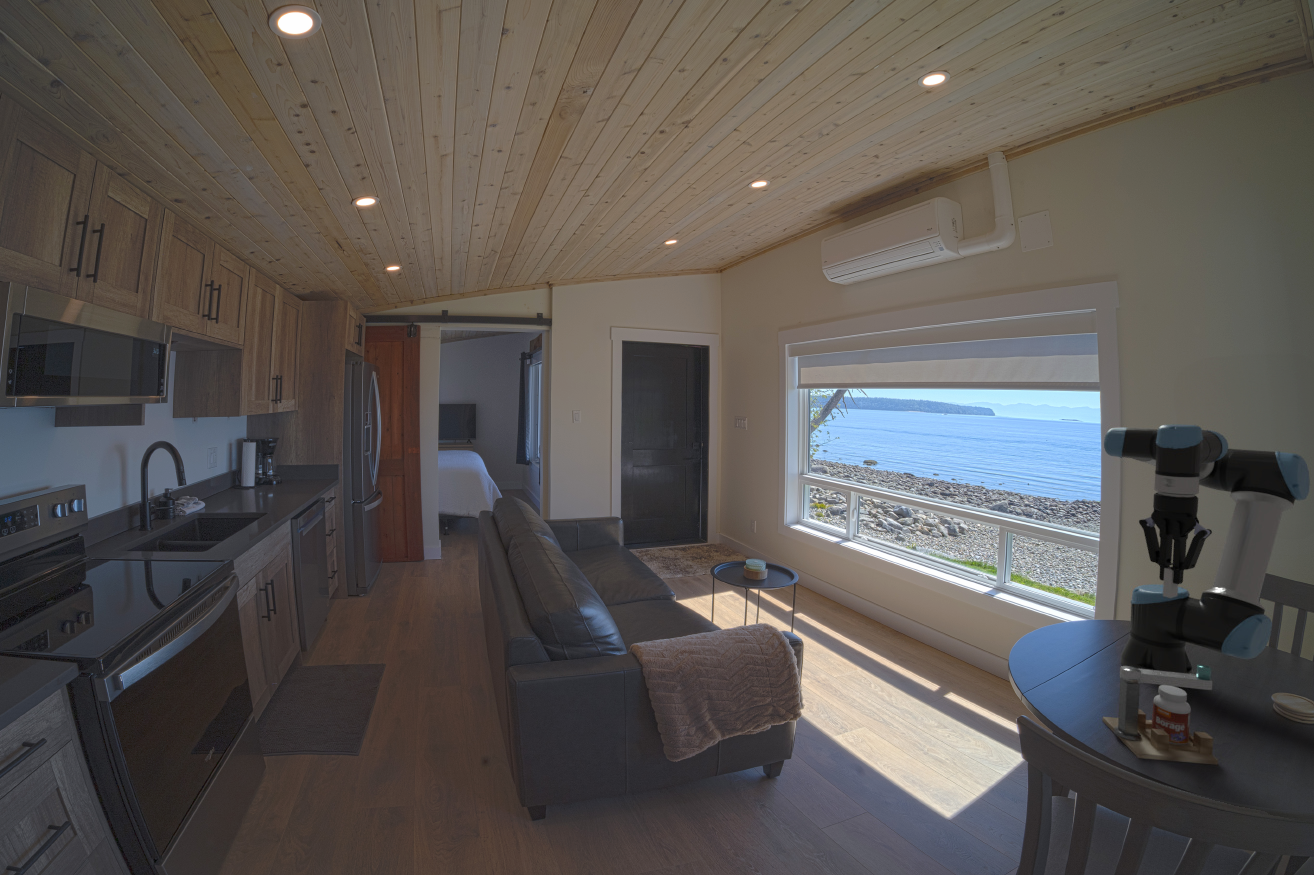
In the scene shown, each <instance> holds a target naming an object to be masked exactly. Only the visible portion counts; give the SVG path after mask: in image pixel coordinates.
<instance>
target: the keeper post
mask: <svg viewBox="0 0 1314 875" xmlns="http://www.w3.org/2000/svg"><path fill="white" fill-rule="evenodd" d="M1140 685H1141V684H1140V683H1129V682H1126V681H1124V680H1122V679H1121V678H1120V677H1119V695H1118V696H1119V699H1118V701H1119V702H1118V716H1117V718H1118V727H1115V728H1114V732H1113V733H1114V735H1116V737H1118V736H1119V737H1121V738H1123V739H1125V740H1129V741H1140V740H1141V735H1140V733H1138V732H1137V730H1138V711H1139V709H1140V708H1139V707H1140V690H1141V688H1140V687H1141V686H1140ZM1119 737H1118V738H1119Z"/></svg>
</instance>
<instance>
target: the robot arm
mask: <svg viewBox="0 0 1314 875" xmlns="http://www.w3.org/2000/svg"><path fill="white" fill-rule="evenodd" d="M1103 448H1104V451H1105V453H1106V454H1107V455H1109V456H1111V457H1117V458H1121V459H1122V458H1127V459H1132V460H1136V461H1139V462H1142V463H1145V464H1148V465H1151V466H1153V467H1155V470H1154V486H1153V487H1154V491H1155V493H1154V494H1153V506H1152V507H1153V511H1152V513H1151V514H1150V517H1147V518H1142V519H1139V520H1138V523H1139V525H1140V527H1141V528H1142V530H1143V534H1144V537H1145V543H1146V547H1147V553H1148V556H1149V560H1150V561H1151V563H1155V564H1157V565H1158V566H1159V577H1158V578H1159V580H1160V581H1163V584H1157V583H1156V584H1150V583H1149V584H1141V585H1137V586H1136V587H1135V588H1133V590H1132V594H1131V600H1130V604H1131V605H1130V623H1129V624H1130V630H1129V636H1128V637H1129V638H1127V639H1128V640H1127V642H1126V644H1125V645H1124V648H1123V649H1122V652H1120V653H1121V654H1120V664H1121V665H1122V666H1130V667H1134V668H1137V669H1147V670H1157V671H1166V672H1176V673H1186V674H1194V670H1193V669H1194V668H1193V666H1192V663H1191V660H1190V657H1189V655H1188V654H1189V653H1188V652H1187V648H1186V644H1187V643H1188V644H1191V645H1193V646H1194V645H1195V646H1197V647H1200V648H1205V649H1208V650H1212V651H1214V652H1217V653H1220V654H1221V653H1222V654H1223V655H1225V656H1231V657H1235V658H1238V659H1244V660H1251V659H1254V658H1256V657H1258V656H1259V655H1260V654H1261V653H1262V652H1263V651H1264V650H1265V648H1266V647H1267V644H1268V642H1269V640H1270V637H1271V634H1272V627H1273V622H1272V620H1271V618H1270V617H1269V616H1268V615H1267V614H1265V613H1266V608H1265V607H1264V606H1263V604H1261V602H1260V596H1261V592H1262V588H1263V585H1264V581H1265V578H1266V573H1267V571H1268V567H1269V564H1270V560H1271V556H1272V551H1273V549H1274V545H1275V541H1276V537H1277V534H1278V531H1279V526H1280V523H1281V518H1282V517H1283V516H1282V515H1283V513H1284V512H1286V511H1288V510H1291V509H1293V507H1294V504H1295V501H1296V500H1297V501H1303V500H1306V499H1307V496H1309V492H1310V486H1311V484H1310V473H1309V466H1308V464H1307V462H1306V460H1305V458H1304V457H1302V456H1301V455H1299V454H1297V453H1293V452H1292V453H1291V452H1281V451H1279V450H1278V451H1277V450H1275V451H1271V450H1270V451H1269V450H1254V449H1235V448H1229V443H1228V440H1227V439H1226V438H1225V436H1224V435H1222V434H1221V433H1219V432H1218V431H1215V430H1208V429H1207V430H1204V429H1202V428H1201V427H1200V426H1199V425H1196V424H1175V423H1173V424H1162V425H1160V426H1159V427H1158V428H1157V429H1155V428H1152V429H1151V428H1141V427H1140V428H1137V427H1127V426H1124V427H1112V428H1110V429H1108V430H1107V432H1106V433H1105V436H1104V441H1103ZM1200 486H1202V487H1205V488H1209V489H1212V490H1215V491H1223V492H1229V493H1230V494H1229V495H1230V498H1231V499H1232V500H1233V501H1234V502H1235V505H1234V506H1235V507H1234V509H1233V513H1232V517H1231V520H1230V524H1229V528H1228V531H1227V535H1226V537H1225V542H1224V545H1223V548H1222V552H1221V556H1220V560H1219V563H1218V566H1217V570H1216V574H1215V576H1214V580H1213V584H1212V587H1211V588H1209V589H1206V590H1203V591H1202V592H1201V596H1200V598H1194V597H1191V596H1190V595H1191V594H1190V592H1189V590H1187V589H1186V588H1184V587H1180V586H1179V585H1182V584H1183V582H1184V571H1188V570H1191V569H1194V568H1196V565H1197V562H1198V560H1199V557H1200V555H1201V552H1202V550H1203V547H1204V544H1205V543H1206V542H1205V541H1206V539H1207V538H1208V537H1210V536H1211V535H1212V534H1213V532H1212V531H1213V530H1212V529H1210V528H1205V527H1204V526H1203V525H1201V524H1200V520H1199V518H1198V516H1197V515H1198V508H1199V497H1197V495H1198V494H1199V493H1200ZM1155 526H1156V527H1157V528H1158V530H1159V531H1158V534H1157V529H1156V527H1155ZM1193 530H1194V531H1193ZM1191 532H1193V535H1194V536H1193V538H1192V540H1191V542H1190V545H1189V547H1188V550H1187V540H1188V538H1189V534H1190V533H1191ZM1158 535H1159V536H1158ZM1158 537H1159V538H1158ZM1159 540H1160V542H1159Z"/></svg>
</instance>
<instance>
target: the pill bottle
mask: <svg viewBox="0 0 1314 875" xmlns="http://www.w3.org/2000/svg"><path fill="white" fill-rule="evenodd" d="M1187 698H1188V693H1187V692H1186V691H1185V690H1184V689H1182V688H1181V687H1180V688H1179V687H1178V686H1168V685H1159V686H1158V694H1157V695H1156V696H1154V698H1153V704H1152V717H1151V720H1152V729H1163V730H1164V731H1165V732H1166V733H1167V734H1169V744H1172V745H1187V744H1188V740H1189V733H1190V726H1191V722H1190V721H1191V713H1192V712H1191V711H1192V709H1191V705H1190V704H1189V703H1188V702H1187Z"/></svg>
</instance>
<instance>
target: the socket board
mask: <svg viewBox="0 0 1314 875" xmlns="http://www.w3.org/2000/svg"><path fill="white" fill-rule="evenodd" d="M1102 722H1103V723H1104V724H1105V725H1106V726H1107V728H1109V729H1110V730H1111V731H1112V732H1113V733H1114V728H1115V727H1118V717H1112V716H1111V717H1110V716H1102ZM1137 732H1138V733H1140V735H1141V740H1140V741H1129V740H1125V739H1123V738H1121V737H1119V736H1117V738H1118V739H1119V740H1120V741H1121V742H1122V743H1123V744H1124V745H1125V746H1126V747H1127V748H1128V749H1129V750H1130V751H1131V752H1132V753H1133V754H1134V755H1135V756H1136V757H1137V758H1138V759H1144V760H1145V759H1146V760H1158V761H1169V762H1170V761H1171V762H1182V763H1193V764H1205V765H1219V759H1218V758H1216V757H1215V756H1214V755H1213V749H1214V748H1213V747H1214V738H1213V736H1211V735H1210V734H1208V733H1207V732H1204V731H1203V732H1202V731H1193V734H1191V733H1190V732H1189V740H1188V744H1187V745H1172V744H1169V734H1167V733H1166V732H1165V731H1164V730H1163V729H1152V719H1147V714H1146V713H1145V712H1144V710H1142V709H1140V708H1139V711H1138V730H1137Z"/></svg>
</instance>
